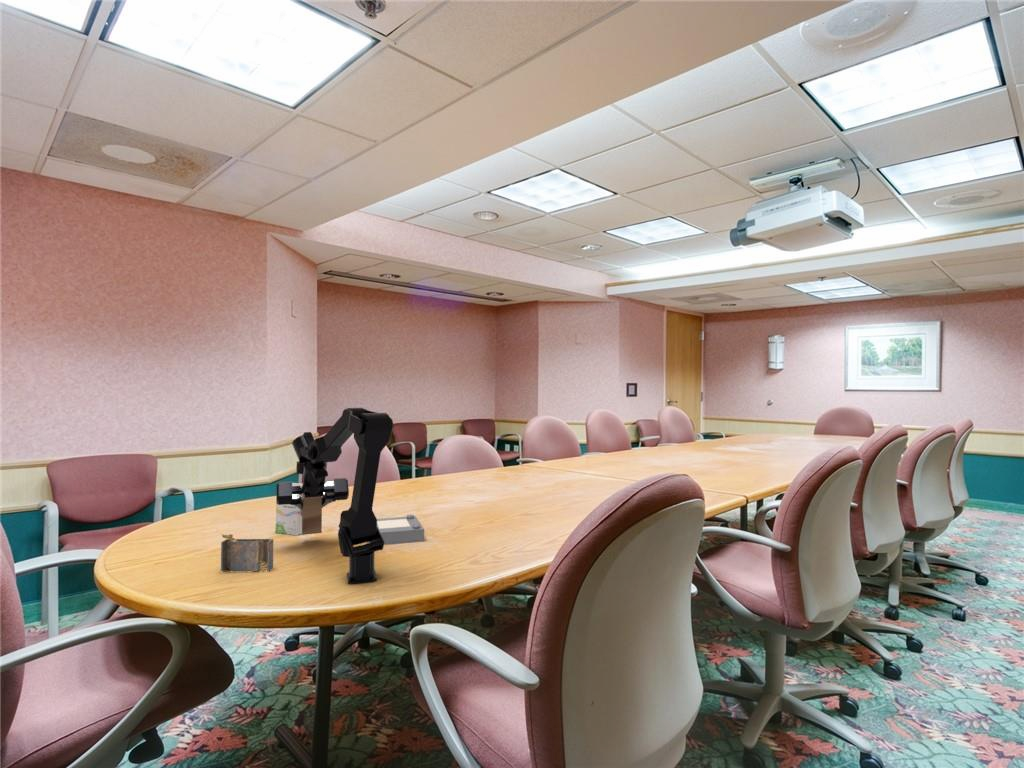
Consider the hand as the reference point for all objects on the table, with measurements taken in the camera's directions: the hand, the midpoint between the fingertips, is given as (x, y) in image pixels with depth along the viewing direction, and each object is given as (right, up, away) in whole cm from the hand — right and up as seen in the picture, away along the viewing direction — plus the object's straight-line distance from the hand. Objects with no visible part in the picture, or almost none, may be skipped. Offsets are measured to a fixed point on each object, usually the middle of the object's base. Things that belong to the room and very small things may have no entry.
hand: (311, 507), depth 152 cm
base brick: (+22, -10, +6) cm, 25 cm away
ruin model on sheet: (-7, -10, -24) cm, 27 cm away
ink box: (-10, -10, +9) cm, 16 cm away
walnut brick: (0, -7, -1) cm, 7 cm away
